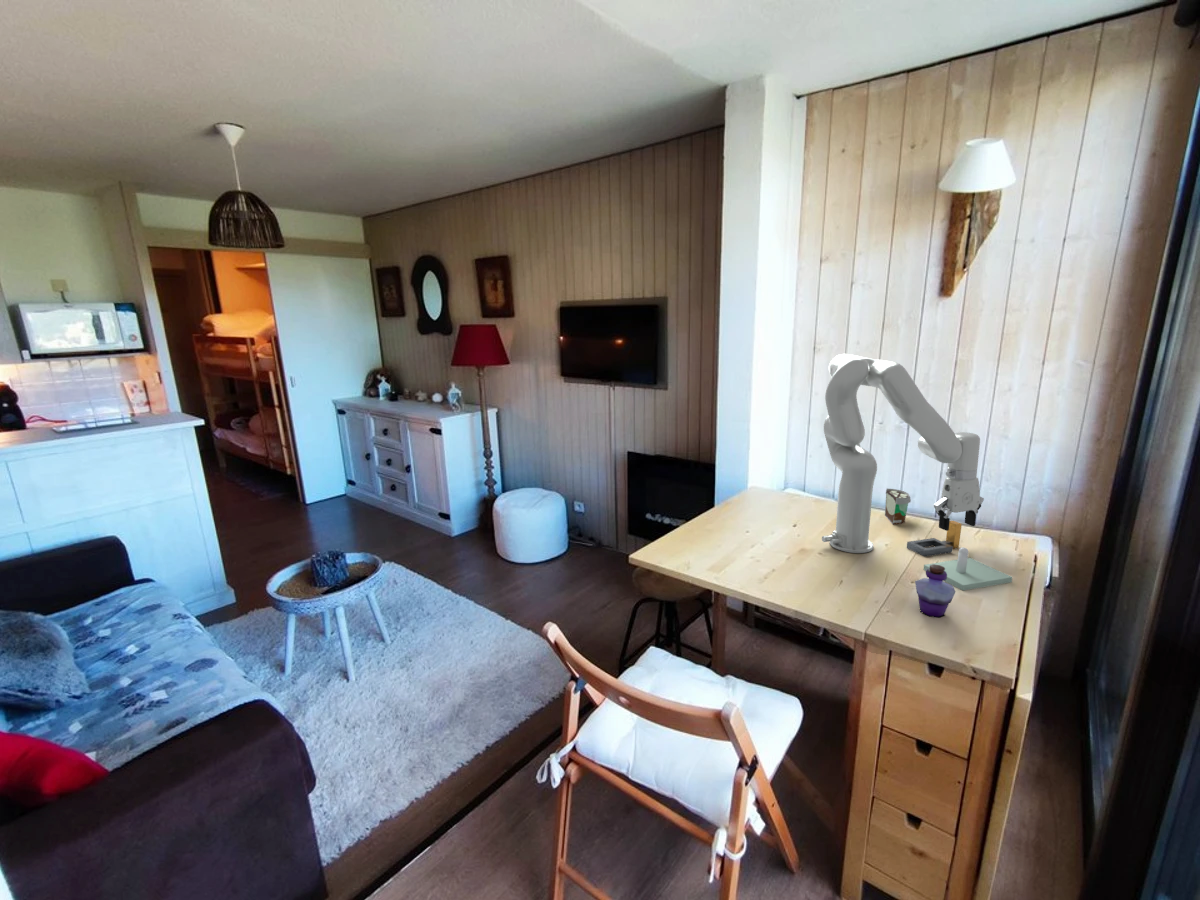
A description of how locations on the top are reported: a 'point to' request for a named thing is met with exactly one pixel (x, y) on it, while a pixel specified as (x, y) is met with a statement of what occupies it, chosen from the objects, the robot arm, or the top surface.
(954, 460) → the robot arm
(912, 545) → the grey square frame
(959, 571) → the plate
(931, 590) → the potion bottle
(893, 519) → the food container
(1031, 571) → the top surface
